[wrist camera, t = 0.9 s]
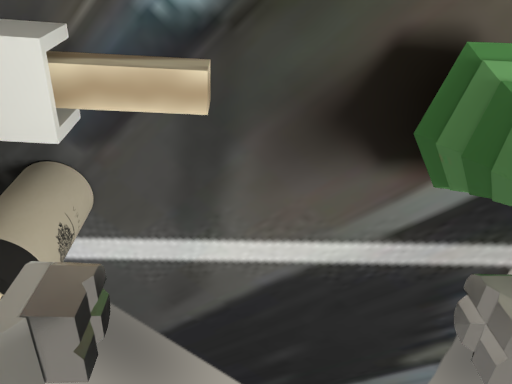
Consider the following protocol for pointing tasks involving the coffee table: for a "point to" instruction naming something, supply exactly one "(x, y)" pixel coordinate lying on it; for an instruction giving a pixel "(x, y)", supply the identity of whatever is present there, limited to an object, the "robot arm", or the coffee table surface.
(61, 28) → the tunnel
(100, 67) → the rod
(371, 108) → the coffee table surface
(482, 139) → the decorative tree
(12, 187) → the travel mug
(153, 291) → the coffee table surface
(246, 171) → the coffee table surface
